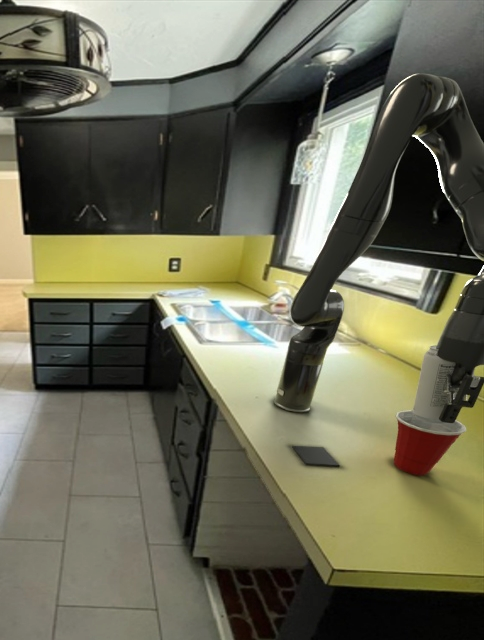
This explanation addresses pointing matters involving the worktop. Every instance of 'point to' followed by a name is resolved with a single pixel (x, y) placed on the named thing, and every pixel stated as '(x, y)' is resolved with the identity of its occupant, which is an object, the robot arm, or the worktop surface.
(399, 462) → the plastic cup
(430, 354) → the energy drink can
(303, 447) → the coaster
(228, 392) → the worktop surface
